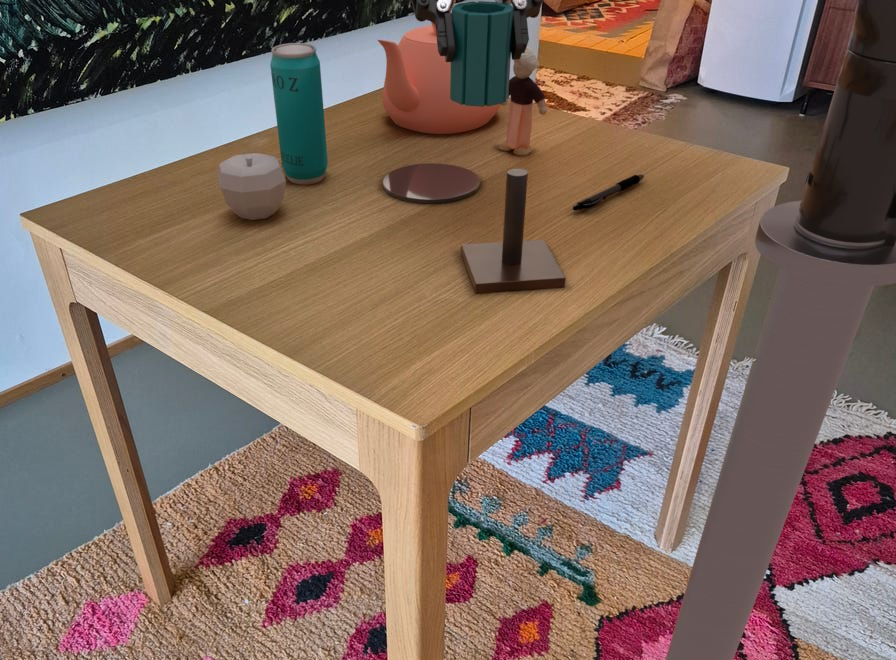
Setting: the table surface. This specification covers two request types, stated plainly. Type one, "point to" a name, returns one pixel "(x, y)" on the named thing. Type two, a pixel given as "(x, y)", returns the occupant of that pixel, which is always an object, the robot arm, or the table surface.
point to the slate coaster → (431, 183)
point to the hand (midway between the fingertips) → (484, 55)
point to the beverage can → (299, 112)
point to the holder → (512, 250)
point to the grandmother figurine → (522, 104)
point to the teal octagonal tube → (481, 53)
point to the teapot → (425, 87)
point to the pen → (607, 192)
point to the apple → (252, 185)
